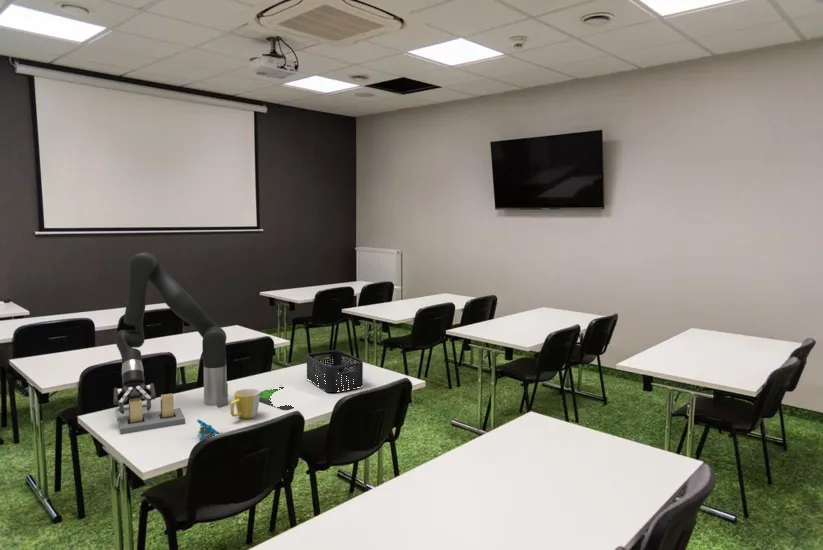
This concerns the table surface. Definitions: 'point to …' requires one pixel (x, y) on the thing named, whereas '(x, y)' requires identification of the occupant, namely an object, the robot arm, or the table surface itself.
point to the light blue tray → (128, 409)
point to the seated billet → (167, 406)
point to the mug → (246, 403)
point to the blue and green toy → (207, 429)
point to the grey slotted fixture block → (151, 421)
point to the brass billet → (135, 410)
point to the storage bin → (335, 370)
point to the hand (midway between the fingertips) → (135, 411)
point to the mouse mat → (266, 396)
